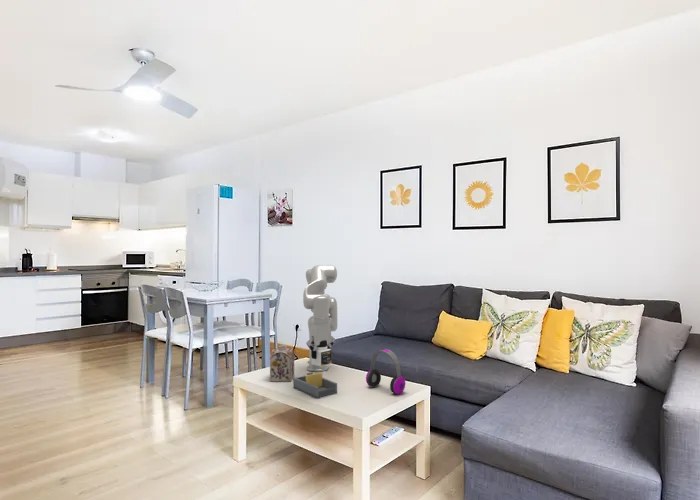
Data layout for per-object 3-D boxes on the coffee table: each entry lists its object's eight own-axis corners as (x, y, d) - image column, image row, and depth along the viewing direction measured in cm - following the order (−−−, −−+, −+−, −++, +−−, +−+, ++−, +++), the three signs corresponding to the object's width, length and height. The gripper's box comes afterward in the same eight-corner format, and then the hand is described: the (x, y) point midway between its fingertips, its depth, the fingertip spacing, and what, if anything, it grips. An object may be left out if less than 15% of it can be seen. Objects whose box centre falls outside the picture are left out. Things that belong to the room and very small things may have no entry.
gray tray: (293, 387, 218) (293, 378, 218) (313, 383, 225) (313, 373, 225) (316, 398, 201) (316, 387, 201) (337, 393, 209) (337, 383, 209)
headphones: (364, 387, 218) (364, 348, 219) (375, 383, 225) (375, 345, 225) (395, 397, 204) (395, 354, 204) (407, 392, 210) (407, 351, 210)
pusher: (301, 387, 214) (301, 373, 214) (316, 383, 220) (316, 370, 220) (307, 389, 210) (307, 375, 210) (322, 386, 216) (322, 372, 216)
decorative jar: (291, 382, 228) (291, 348, 228) (269, 381, 228) (269, 348, 229) (294, 375, 240) (294, 343, 240) (274, 375, 240) (274, 343, 240)
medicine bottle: (321, 366, 204) (321, 341, 204) (311, 364, 209) (310, 339, 209) (331, 363, 209) (331, 339, 209) (321, 361, 214) (321, 337, 214)
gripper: (330, 318, 218) (330, 353, 218) (301, 322, 207) (301, 358, 207) (339, 320, 212) (339, 356, 212) (310, 324, 201) (310, 361, 201)
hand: (321, 357), depth 209 cm, fingers closed on medicine bottle, 7 cm apart
